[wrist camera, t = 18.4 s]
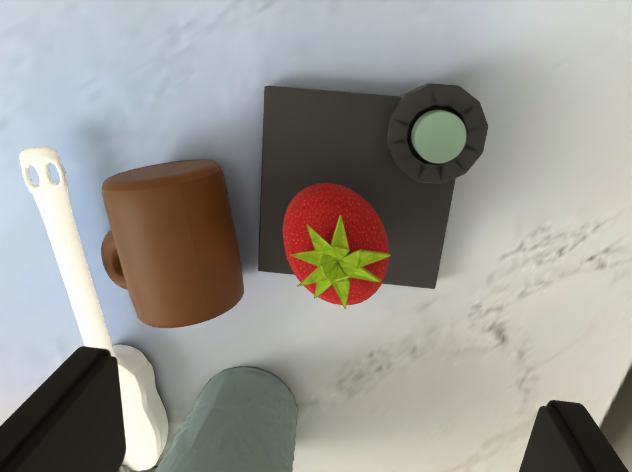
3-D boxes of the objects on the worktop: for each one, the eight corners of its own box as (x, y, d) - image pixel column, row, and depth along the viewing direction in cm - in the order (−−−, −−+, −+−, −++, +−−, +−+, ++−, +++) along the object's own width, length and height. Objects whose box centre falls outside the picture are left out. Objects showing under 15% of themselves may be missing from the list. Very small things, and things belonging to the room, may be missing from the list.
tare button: (414, 107, 27) (418, 109, 26) (464, 111, 27) (471, 113, 25) (407, 156, 28) (410, 161, 27) (455, 161, 28) (461, 165, 26)
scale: (268, 70, 29) (260, 69, 27) (482, 87, 29) (496, 88, 26) (261, 263, 34) (253, 280, 31) (444, 282, 33) (453, 301, 31)
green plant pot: (177, 423, 40) (108, 558, 29) (217, 337, 37) (156, 451, 25) (279, 467, 41) (251, 615, 29) (328, 386, 37) (317, 519, 26)
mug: (124, 161, 35) (152, 269, 38) (29, 184, 29) (71, 311, 32) (245, 156, 30) (267, 284, 33) (158, 184, 23) (195, 339, 26)
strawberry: (356, 150, 29) (357, 183, 20) (398, 248, 31) (418, 320, 22) (276, 186, 31) (243, 233, 21) (322, 278, 33) (311, 358, 23)
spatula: (24, 146, 33) (-6, 152, 30) (96, 137, 32) (73, 142, 29) (122, 449, 41) (106, 475, 39) (181, 447, 41) (168, 473, 38)
